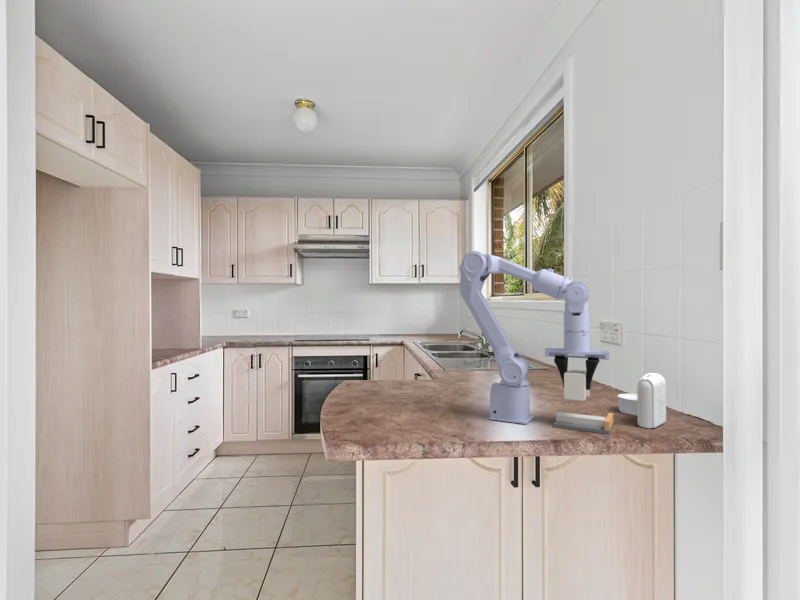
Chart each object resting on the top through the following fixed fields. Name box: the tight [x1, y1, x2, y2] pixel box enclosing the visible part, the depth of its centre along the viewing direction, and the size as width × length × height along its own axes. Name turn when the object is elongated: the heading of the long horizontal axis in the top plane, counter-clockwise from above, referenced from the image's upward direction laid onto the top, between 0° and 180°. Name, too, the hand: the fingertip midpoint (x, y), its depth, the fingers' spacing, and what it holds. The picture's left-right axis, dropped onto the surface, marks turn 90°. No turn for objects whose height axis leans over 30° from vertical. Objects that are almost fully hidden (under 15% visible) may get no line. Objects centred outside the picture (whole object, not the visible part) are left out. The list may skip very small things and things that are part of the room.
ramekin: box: [616, 393, 638, 417], centre depth 119 cm, size 9×9×4 cm
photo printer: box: [636, 372, 667, 429], centre depth 108 cm, size 10×4×12 cm, turn 134°
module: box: [563, 369, 590, 402], centre depth 107 cm, size 4×8×6 cm, turn 149°
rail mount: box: [553, 411, 614, 435], centre depth 106 cm, size 12×9×3 cm
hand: (576, 388), depth 107 cm, fingers closed on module, 4 cm apart
